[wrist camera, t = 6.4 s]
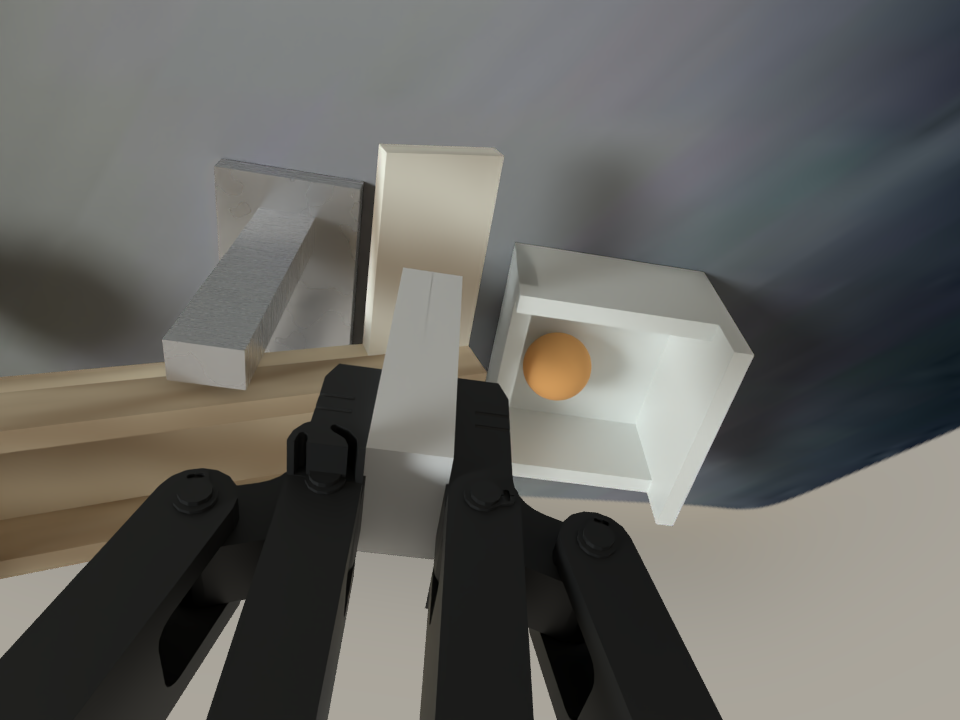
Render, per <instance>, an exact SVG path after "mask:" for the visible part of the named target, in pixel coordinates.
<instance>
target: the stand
mask: <svg viewBox="0 0 960 720" xmlns="http://www.w3.org/2000/svg"><path fill="white" fill-rule="evenodd" d="M214 175H215V193H216V211H217V229H218V247H219V263H218V264H217V266H216V267H215V268H214V270H213V271H212V272H211V274H210V275H209V276H208V278H207V279H206V281H205V282H204V283H203V285H202V286H201V287H200V289H199V290H198V291H197V293H196V294H195V295H194V297H193V298H192V300H191V301H190V302H189V304H188V305H187V306H186V308H185V309H184V310H183V312H182V313H181V315H180V316H179V317H178V319H177V320H176V321H175V323H174V324H173V325H172V327H171V328H170V330H169V331H168V332H167V334H166V335H165V336H164V338H163V339H162V343H163V351H164V360H165V368H166V377H167V380H171V381H178V382H186V383H194V384H201V385H209V386H216V387H224V388H232V389H239V390H246V389H247V387H248V385H249V383H250V381H251V379H252V377H253V375H254V373H255V371H256V368H257V366H258V364H259V362H260V360H261V358H262V356H263V354H264V353H267V352H278V351H289V350H300V349H311V348H321V347H332V346H343V345H352V337H353V323H354V309H355V295H356V281H357V267H358V254H359V240H360V226H361V212H362V198H363V184H364V182H363V181H357V180H351V179H345V178H339V177H332V176H326V175H320V174H314V173H308V172H301V171H295V170H289V169H283V168H277V167H270V166H264V165H258V164H252V163H246V162H240V161H233V160H227V159H221V160H220V161H219V162H218V163H217V164H216V165H215V166H214Z"/></svg>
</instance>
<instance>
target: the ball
mask: <svg viewBox="0 0 960 720" xmlns="http://www.w3.org/2000/svg"><path fill="white" fill-rule="evenodd" d="M523 373H524V377H525V380H526V382H527V384H528V385H529V387H530V388H531V389H532V390H533V391H534V392H535V393H536V394H538V395H539V396H541V397H543V398H546V399H549V400H556V401H557V400H566V399H569V398H571V397H573V396H575V395H577V394H578V393H579V392H580V391H582V389H583V388H584V387H585V386H586V384H587V382H588V380H589V378H590V374H591V358H590V355H589V352H588V350H587V349H586V347H585V346H584V345H583V343H582V342H581V341H579V340H578V339H577V338H575V337H574V336H572V335H569V334H566V333H560V332H554V333H548V334H545V335H543V336H541V337H539V338H538V339H536V340H535V341H534V342H533V343H532V344H531V345H530V346H529V348H528V349H527V351H526V353H525V356H524V360H523Z"/></svg>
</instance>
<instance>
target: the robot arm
mask: <svg viewBox="0 0 960 720" xmlns="http://www.w3.org/2000/svg"><path fill="white" fill-rule="evenodd" d="M462 278H463V276H457V275H450V274H444V273H437V272H430V271H424V270H417V269H410V268H403V271H402V276H401V281H400V285H399V290H398V295H397V300H396V305H395V310H394V314H393V319H392V324H391V329H390V334H389V339H388V344H387V348H386V353H385V358H384V363H383V368H382V369H377V368H370V367H362V366H355V365H347V364H340V363H339V364H338V365H337V366H336V367H335V368H334V369H333V370H331V371H330V372H329V373H328V374H327V375H326V376H325V378H324V381H323V384H322V388H321V391H320V395H319V397H318V400H317V403H316V408H315V409H314V413H313V416H312V419H311V421H310V422H306V423H303V424H302V425H300V426H299V427H297V428H296V429H294V430H293V431H292V433H291V434H290V435H289V437H288V438H287V472H285V473H284V474H282V475H281V476H279V477H276V478H274V479H271V480H268V481H263V482H259V483H252V484H244V485H236V484H235V482H234V481H233V480H232V479H231V477H230V476H228V475H226V474H224V473H222V472H220V471H219V470H213V469H207V468H198V469H190V470H185V471H182V472H180V473H177V474H175V475H172V476H171V477H169V478H168V479H167V480H165V481H164V482H163V483H161V484H160V485H159V486H158V487H157V488H156V489H155V490H154V492H153V493H152V494H151V495H150V496H149V497H148V498H147V499H146V500H145V501H144V502H143V504H142V505H141V506H140V507H139V508H138V509H137V510H136V511H135V512H134V513H133V514H132V516H131V517H130V518H129V519H128V520H127V521H126V522H125V523H124V524H123V525H122V526H121V528H120V529H119V530H118V531H117V532H116V533H115V534H114V535H113V536H112V537H111V538H110V540H109V541H108V542H107V543H106V544H105V545H104V546H103V547H102V548H101V549H100V550H99V552H98V553H97V554H96V555H95V556H94V557H93V558H92V559H91V560H90V561H89V563H88V564H87V565H86V566H85V567H84V568H83V569H82V570H81V571H80V572H79V573H78V574H77V576H76V577H75V578H74V579H73V580H72V581H71V582H70V583H69V585H68V586H66V588H65V589H64V590H63V591H62V592H61V593H60V594H59V595H58V596H57V597H56V599H55V600H54V601H53V602H52V603H51V604H50V605H49V606H48V607H47V608H46V610H44V612H43V613H42V614H41V615H40V616H39V617H38V618H37V619H36V620H35V621H34V623H33V624H32V625H31V626H30V627H29V628H28V629H27V630H26V631H25V632H24V633H23V635H22V636H21V637H20V638H19V639H18V640H17V641H16V642H15V643H14V644H13V646H12V647H11V648H10V649H9V650H8V651H7V652H6V653H5V654H4V655H3V656H2V657H1V659H0V720H166V718H167V717H168V715H169V713H170V712H171V711H172V709H173V707H174V706H175V704H176V703H177V701H178V700H179V698H180V696H181V695H182V693H183V692H184V690H185V689H186V687H187V685H188V684H189V682H190V681H191V679H192V677H193V676H194V675H195V672H196V671H197V670H198V668H199V667H200V665H201V663H202V662H203V660H204V659H205V657H206V656H207V654H208V653H209V651H210V649H211V648H212V646H213V645H214V643H215V642H216V640H217V638H218V637H219V635H220V634H221V632H222V631H223V629H224V627H225V626H226V624H227V623H228V621H229V620H230V618H231V617H232V615H233V613H234V612H235V610H236V609H237V607H238V606H239V603H240V601H241V600H244V599H246V600H245V603H244V606H243V609H242V612H241V615H240V618H239V621H238V624H237V627H236V631H235V634H234V637H233V640H232V643H231V646H230V649H229V652H228V655H227V658H226V661H225V664H224V667H223V670H222V673H221V676H220V679H219V682H218V685H217V689H216V692H215V695H214V698H213V701H212V704H211V707H210V710H209V713H208V716H207V719H206V720H327V719H328V714H329V708H330V703H331V697H332V692H333V686H334V681H335V675H336V670H337V664H338V659H339V653H340V648H341V642H342V637H343V631H344V626H345V620H346V615H347V610H348V604H349V598H350V593H351V587H352V582H353V577H354V566H355V557H356V552H357V551H361V552H370V553H379V554H388V555H397V556H407V557H416V558H425V559H434V568H433V572H432V577H431V583H430V587H429V593H428V597H427V603H426V607H425V608H427V609H428V619H427V632H426V645H425V658H424V670H423V685H422V696H421V697H422V698H421V709H420V720H534V718H533V703H532V684H531V668H530V651H529V634H528V627H529V632H530V636H531V638H532V642H533V645H534V648H535V651H536V654H537V657H538V661H539V664H540V667H541V670H542V673H543V677H544V680H545V683H546V686H547V689H548V692H549V696H550V699H551V702H552V705H553V708H554V711H555V714H556V718H557V720H723V719H722V718H721V715H720V714H719V712H718V710H717V708H716V706H715V704H714V702H713V700H712V698H711V696H710V694H709V692H708V690H707V688H706V686H705V684H704V682H703V680H702V678H701V676H700V674H699V672H698V670H697V668H696V666H695V664H694V662H693V660H692V658H691V656H690V654H689V652H688V650H687V648H686V646H685V644H684V642H683V640H682V638H681V637H680V635H679V632H678V630H677V629H676V627H675V624H674V623H673V621H672V619H671V617H670V615H669V613H668V611H667V609H666V607H665V605H664V603H663V601H662V599H661V597H660V595H659V593H658V591H657V589H656V587H655V585H654V583H653V581H652V579H651V577H650V575H649V573H648V571H647V569H646V567H645V565H644V563H643V561H642V559H641V557H640V555H639V553H638V551H637V549H636V547H635V545H634V543H633V542H632V539H631V538H630V536H629V535H628V534H627V532H626V531H625V530H624V528H623V527H622V526H621V525H619V524H618V523H617V522H615V521H614V520H613V519H611V518H609V517H607V516H604V515H601V514H599V513H593V512H580V513H576V514H573V515H571V516H569V517H568V518H567V519H566V520H565V521H564V522H562V521H559V520H557V519H554V518H552V517H549V516H546V515H544V514H542V513H540V512H538V511H536V510H534V509H533V508H531V507H530V506H529V505H527V504H526V503H525V502H524V501H523V500H522V499H521V497H520V496H519V495H518V492H517V490H516V489H515V488H514V483H513V475H512V456H511V437H510V419H509V399H508V398H507V396H506V394H505V393H504V391H503V390H502V388H501V386H500V385H499V383H492V382H485V381H477V380H470V379H462V378H458V359H459V339H460V319H461V298H462Z"/></svg>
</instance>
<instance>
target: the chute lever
mask: <svg viewBox="0 0 960 720" xmlns="http://www.w3.org/2000/svg"><path fill="white" fill-rule="evenodd" d="M503 159H504V156H503V155H502V154H501V153H500V152H498V151H497V150H496V149H495V148H485V147H456V146H428V145H399V144H379V151H378V163H377V175H376V187H375V199H374V211H373V224H372V236H371V248H370V260H369V272H368V284H367V296H366V309H365V321H364V333H363V344H354V345H343V346H332V347H321V348H311V349H300V350H289V351H278V352H267V353H264V354H263V356H262V358H261V360H260V362H259V364H258V366H257V368H256V371H255V373H254V375H253V377H252V379H251V381H250V383H249V385H248V387H247V389H246V390H239V389H232V388H224V387H216V386H209V385H201V384H194V383H186V382H178V381H171V380H167V377H166V368H165V362H159V363H149V364H138V365H127V366H116V367H105V368H95V369H84V370H73V371H62V372H51V373H41V374H30V375H19V376H8V377H0V579H3V578H8V577H12V576H18V575H23V574H28V573H33V572H38V571H43V570H48V569H53V568H59V567H63V566H69V565H74V564H79V563H83V562H89V561H90V560H91V559H92V558H93V557H94V556H95V555H96V554H97V553H98V552H99V550H100V549H101V548H102V547H103V546H104V545H105V544H106V543H107V542H108V541H109V540H110V538H111V537H112V536H113V535H114V534H115V533H116V532H117V531H118V530H119V529H120V528H121V526H122V525H123V524H124V523H125V522H126V521H127V520H128V519H129V518H130V517H131V516H132V514H133V513H134V512H135V511H136V510H137V509H138V508H139V507H140V506H141V505H142V504H143V502H144V501H145V500H146V499H147V498H148V497H149V496H150V495H151V494H152V493H153V492H154V490H155V489H156V488H157V487H158V486H159V485H160V484H161V483H163V482H164V481H165V480H167V479H168V478H169V477H171V476H172V475H175V474H177V473H180V472H182V471H185V470H190V469H198V468H207V469H213V470H219V471H220V472H222V473H224V474H226V475H228V476H230V477H231V479H232V480H233V481H234V482H235V484H236V485H244V484H252V483H259V482H263V481H268V480H271V479H274V478H276V477H279V476H281V475H282V474H284V473H285V472H287V438H288V437H289V435H290V434H291V433H292V431H293V430H294V429H296V428H297V427H299V426H300V425H302V424H303V423H306V422H310V421H311V419H312V416H313V413H314V409H315V408H316V403H317V400H318V397H319V395H320V391H321V388H322V384H323V381H324V378H325V376H326V375H327V374H328V373H329V372H330V371H331V370H333V369H334V368H335V367H336V366H337V365H338V364H339V363H340V364H347V365H355V366H362V367H370V368H377V369H382V368H383V363H384V358H385V353H386V348H387V344H388V339H389V334H390V329H391V324H392V319H393V314H394V310H395V305H396V300H397V295H398V290H399V285H400V281H401V276H402V271H403V268H410V269H417V270H424V271H430V272H437V273H444V274H450V275H457V276H463V278H462V298H461V319H460V339H459V359H458V378H462V379H470V380H477V381H485V380H486V376H487V372H486V370H485V369H484V367H483V366H482V365H481V363H480V362H479V360H478V359H477V357H476V356H475V354H474V353H473V352H472V350H471V349H470V347H469V346H468V345H469V340H470V335H471V329H472V324H473V319H474V313H475V308H476V303H477V297H478V292H479V287H480V282H481V276H482V271H483V266H484V260H485V255H486V250H487V244H488V239H489V234H490V228H491V223H492V218H493V212H494V207H495V202H496V196H497V191H498V186H499V180H500V175H501V170H502V165H503Z"/></svg>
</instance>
